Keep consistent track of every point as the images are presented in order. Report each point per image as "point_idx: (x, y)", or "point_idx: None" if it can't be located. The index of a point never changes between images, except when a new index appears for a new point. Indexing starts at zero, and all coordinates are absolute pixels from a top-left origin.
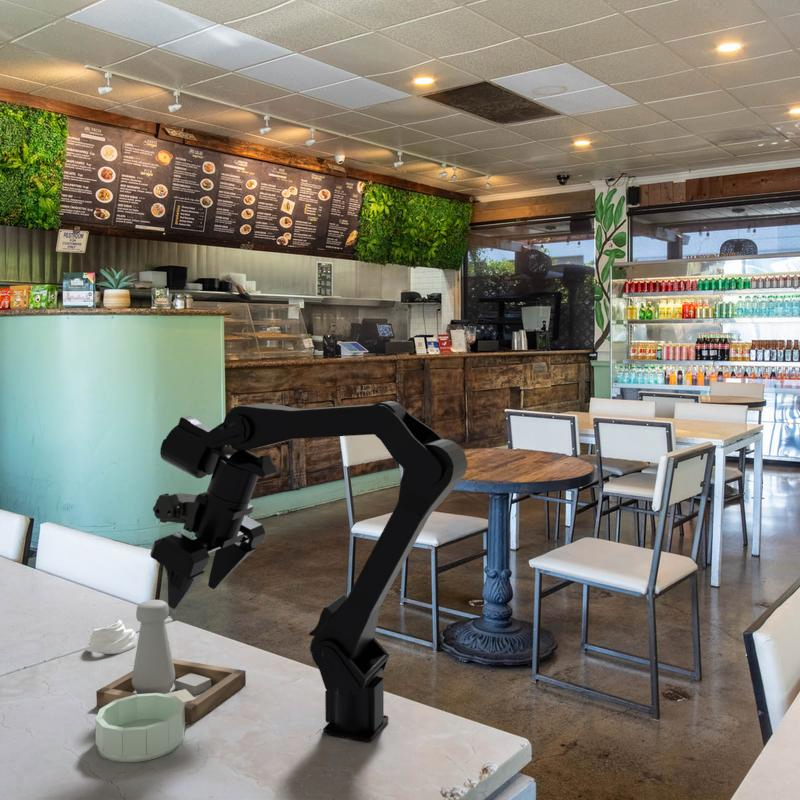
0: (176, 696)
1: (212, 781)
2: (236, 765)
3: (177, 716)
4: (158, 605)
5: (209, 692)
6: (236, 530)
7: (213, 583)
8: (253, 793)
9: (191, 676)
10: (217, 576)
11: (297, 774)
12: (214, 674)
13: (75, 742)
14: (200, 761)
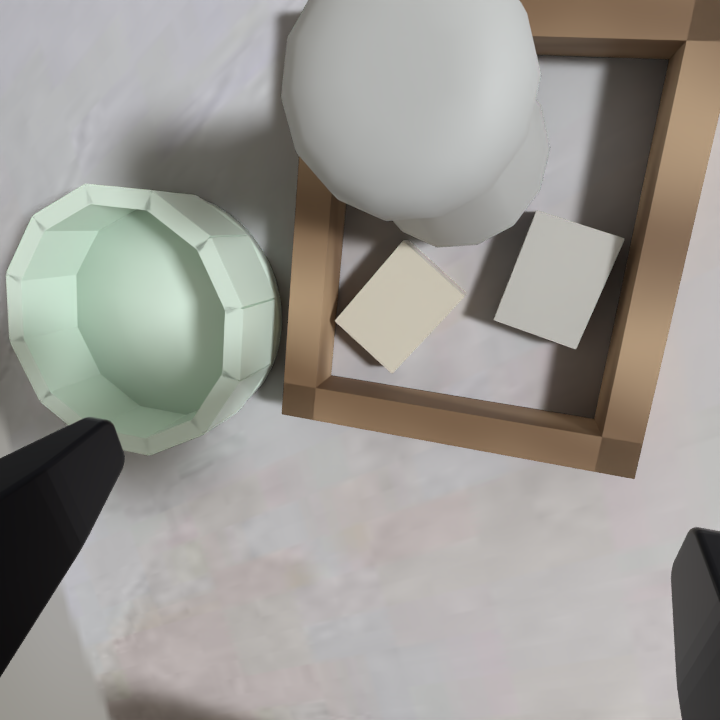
0: (394, 297)
1: (88, 554)
2: (156, 583)
3: (129, 450)
4: (355, 167)
5: (408, 420)
6: None
7: (687, 604)
8: (82, 642)
9: (586, 259)
10: (708, 708)
11: (166, 709)
12: (616, 348)
13: (114, 128)
14: (144, 500)
